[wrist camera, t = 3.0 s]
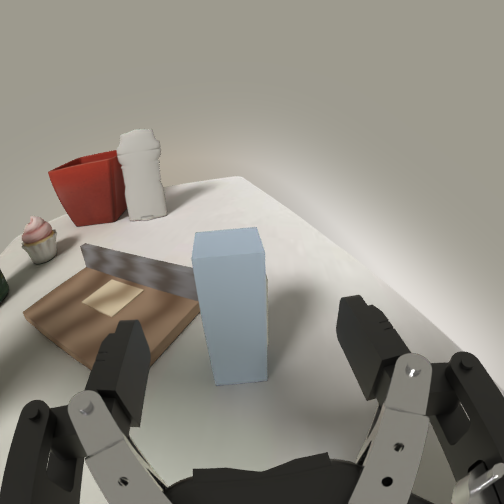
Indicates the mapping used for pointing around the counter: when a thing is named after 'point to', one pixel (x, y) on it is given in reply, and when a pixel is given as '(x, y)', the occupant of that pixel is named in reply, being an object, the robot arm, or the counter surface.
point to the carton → (233, 303)
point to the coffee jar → (3, 287)
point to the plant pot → (91, 188)
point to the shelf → (116, 303)
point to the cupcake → (39, 240)
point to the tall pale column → (142, 175)
